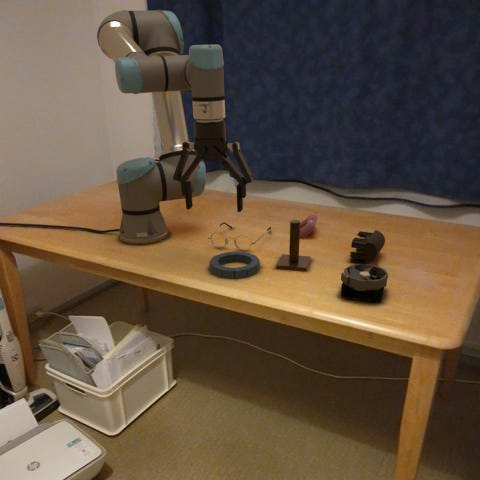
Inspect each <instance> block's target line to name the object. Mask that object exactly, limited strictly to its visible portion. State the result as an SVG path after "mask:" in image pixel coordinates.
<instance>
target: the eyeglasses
mask: <svg viewBox="0 0 480 480" xmlns="http://www.w3.org/2000/svg"><path fill="white" fill-rule="evenodd" d="M223 225H226V226H227V227H228V228H229V229H231V230H233V226H231V225H229V224H228V223H226V222H225V221H224V222H221V223H220V224H219V226H218V227H217V228H216V229H215V230H214V231H213V232H212V233H211V234H210V235H209V236H208V240H210V241H211V243H212V245H213V246H214V247H216V248H218V249H223V248H225V247H227V245H228V243H229V239H230V237H229V236H227V237H225V236H224V234H222V233H220V232H219V231H218V229H219V228H221V226H223ZM271 231H272V227H271V226H269V227H268V228H267V229H266V230H265V232H263V233H262V234H261V235H260V236H259V237H258V238H257V239H256V240H255V241H252V239H251V238H250V237H249V236H248V235H246V234H240V235H238V236H237V237H236V238H235V237H231V239H232V240H233V243H234V246H235V248H236V249H238V250H239V251H241V252H246V251H248V250H249V249H251V247H249V248H246V249H243V248H240V247H239V246H238V242H237V239H238V238H239V237H246V238H248V239H249V241H250V246H252V245H255V244H256V243H257V242H258V241H260V240H261V238H262V237H263V236H264V235H265V234H266V233H267V232H268V233H271ZM214 234H219V235H221V236H222V237H223V239H224V245H223V246H218V245H216V244H215V243H214V242H213V239H212V237H213V235H214Z"/></svg>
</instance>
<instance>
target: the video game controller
mask: <svg viewBox="0 0 480 480" xmlns="http://www.w3.org/2000/svg"><path fill="white" fill-rule="evenodd" d="M318 218H319V217H318V215H317V214H313V213H311V214H309V215H308V216H307V217H306V218H305V219H303V220H302V221H300V239H302V238H305V237H307V236H310V235H311V233H312V232H313V231H316V230H317V220H318Z"/></svg>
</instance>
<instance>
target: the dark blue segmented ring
mask: <svg viewBox="0 0 480 480" xmlns="http://www.w3.org/2000/svg"><path fill="white" fill-rule="evenodd" d="M260 261H261V259H259V258H258V256H257V255H256V254H253V253H250V252H246V251H226V252H221V253H219V254H215V255H214V256H212V257H211V259H210V260H209V270H210V272H211V273H212V274H213V275H214V276H217V277H220V278H222V279H223V278H224V279H242V278H248V277H250V276H252V275H254V274H257V273H258V271H259V270H260V268H261V267H260ZM232 262H239V263H245V265H244V266H237V267H230V266H229V267H228V266H224V264H226V263H232ZM246 264H247V265H246Z"/></svg>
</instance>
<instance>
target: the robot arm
mask: <svg viewBox="0 0 480 480" xmlns="http://www.w3.org/2000/svg"><path fill="white" fill-rule="evenodd" d="M96 39H97V44H98V46H99V49H100V50H101V52H102V54H104V55H105V56H106V57H107V58H109V59H110V60H111V61H112V62H113V63H114V70H115V72H114V73H115V78H116V79H115V80H116V84H117V87H118V89H119V91H120V93H122V94H133V95H137V94H138V95H139V94H149V93H150V94H151V96H152V100H153V101H152V102H153V105H154V111H155V116H156V123H157V127H158V133H159V138H160V139H159V140H160V144H161V149H162V151H161V152H160V154H159V155H158V160H159V161H156V160H155V158H154V157H150V156H146V157H137V158H133V159H129V160H126V161H124V162H122V163H120V164H119V165H118V166H117V167H116V184H117V187H118V194H119V200H120V207H121V220H120V226H119V228H113V229H105V230H103V229H102V230H101V229H93V228H89V227H81V226H70V225H55V224H37V223H35V224H34V223H20V222H19V223H16V222H15V223H14V222H0V226H15V227H16V226H18V227H34V228H35V227H36V228H37V227H38V228H39V227H40V228H52V229H65V230H66V229H67V230H68V229H69V230H80V231H87V232H92V233H99V234H107V233H113V232H114V233H116V232H119V233H118V235H119V239H120V241H121V242H122V243H125V244H129V245H140V246H141V245H150V244H156V243H158V242H161V241H164V240H165V239H167V238H168V237H169V228H168V225H167V223H166V221H165V219H164V216H163V214H162V212H161V207H160V203H162V202H168V201H177V200H183V199H184V200H185V209H186V210H191V209H192V208H193V207H194V205H193V198H198V197H200V196H201V195H202V194H203V193H204V191H205V188H206V181H207V169H206V164H205V163H209V162H213V163H218V162H220V163H221V164H222V165H223V166H224V167H225V168H226V170H227V171H228V172H229V174H231V176H232V177H233V178H234V179H235V181H236V182H237V183H238V184H237V185H236V212H237V213H241V212H242V211H243V210H244V203H243V201H244V199H245V198H246V197H247V185H248V184H251V183H252V182H253V181H254V175H253V173H252V172H251V170H250V167H249V165H248V164H247V161H246V159H245V157H244V155H243V153H242V150H241V143H240V141H237V140H236V141H234V142H228V140H227V122H226V121H225V120H224V119H225V118H226V116H227V115H226V100H225V99H226V97H225V96H226V95H225V68H224V67H225V60H224V53H223V48H222V46H221V45H220V44H217V43H216V44H192V45H190V47H189V48H188V54H184V55H183V53H184V49H185V47H184V46H185V44H184V43H185V42H184V35H183V30H182V26H181V22H180V21H179V18H178V17H177V16H176V14H175V13H174V12H173V11H170V10H162V9H156V10H154V9H153V10H127V9H126V10H118V11H115V12H113V13H111V14H109V15H107V16H106V17H104V19H103V20H102V21H101V22H100V23H99V25H98V28H97V32H96ZM183 91H191V100H192V116H193V119H194V120H196V121H194V123H193V132H194V133H193V134H194V142H191V141H190V137H189V132H188V126H187V121H186V114H185V110H184V104H183V97H182V92H183ZM228 150H230V152H231V153H233V156H234V159H235V161H236V163H237V165H238V167H239V169H240V170H239V169H238V167H237V166H236V164H234V163H233V161H232V160H231V158H230V156H229V155H228V154H227V151H228Z"/></svg>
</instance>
